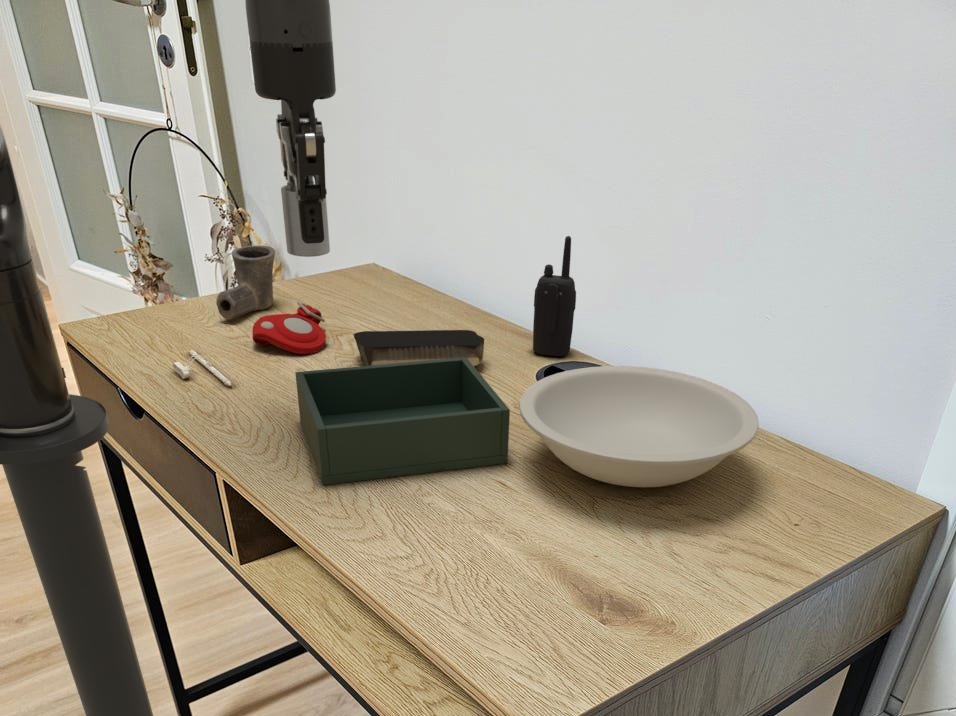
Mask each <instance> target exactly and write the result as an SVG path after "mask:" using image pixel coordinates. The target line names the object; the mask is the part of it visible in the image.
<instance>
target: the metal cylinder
mask: <svg viewBox="0 0 956 716" xmlns="http://www.w3.org/2000/svg"><path fill="white" fill-rule="evenodd" d="M305 185H315V183H314V184H305ZM295 193H296V187H295V184H291V185H287V184H286V185H283V186H281V187H280V194H281V195H280V196H281V203H282V204H281V205H282V214H283V223H284V234H285V243H286V251H287V254H289V255H290V256H291V255H292V256H294V257H295V256H296V257H304V258H305V257H306V258H309V257H312V258H313V257H320V256H324V255H327V254H329V253H330V252H331V246H330V233H329V231H330V230H329V219H328V206H327V205H328V204H327V197H326V198H325V199H323V202H321V204H322V216H323V228H324V241H323V242H322V243H310V244H307V243H305V242H304V241H303V240H302V237H301V228H300V217H299V207H298V201H297V199H296V195H295Z"/></svg>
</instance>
